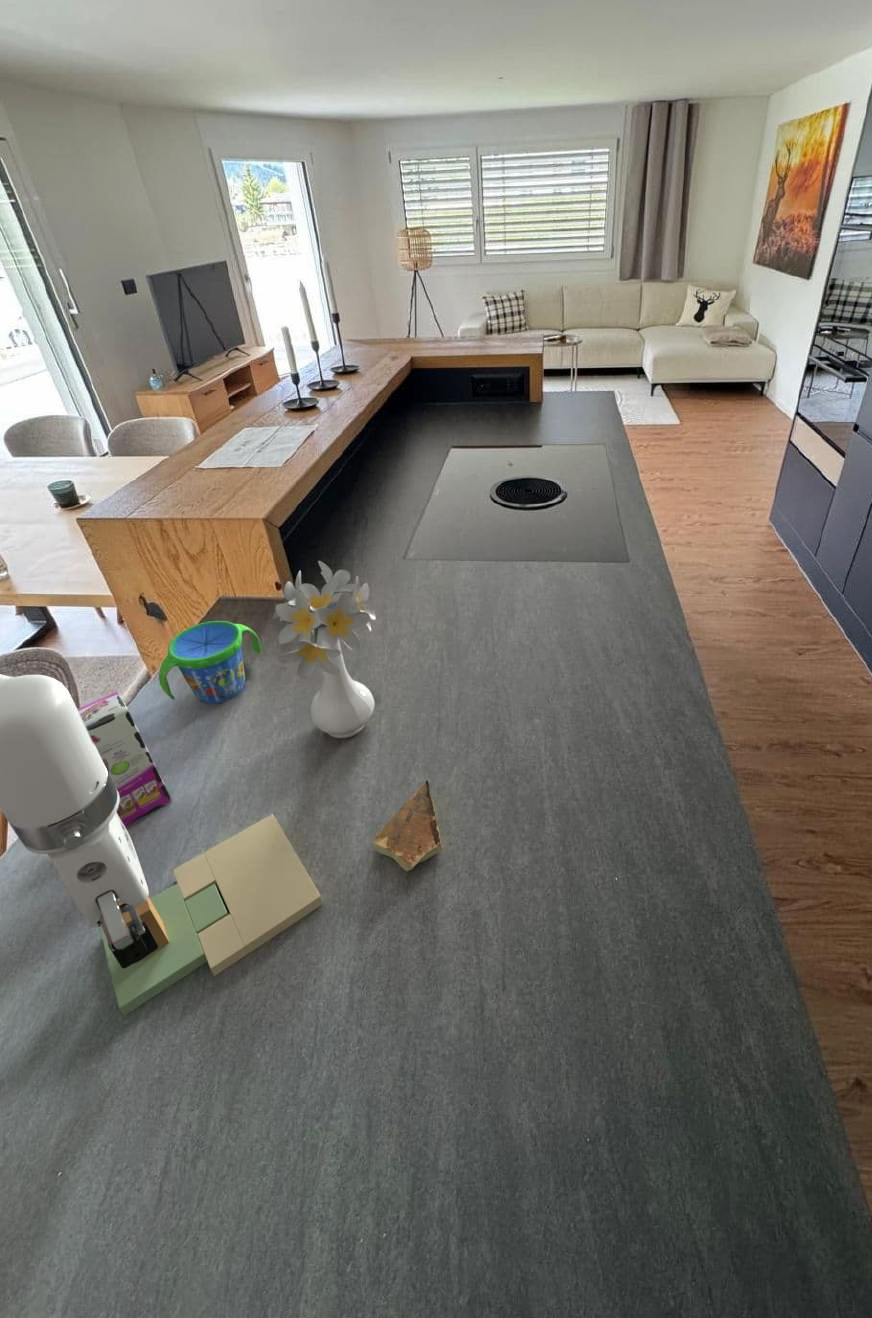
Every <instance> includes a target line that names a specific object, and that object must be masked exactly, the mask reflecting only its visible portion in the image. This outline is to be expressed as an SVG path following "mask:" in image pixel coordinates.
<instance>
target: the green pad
mask: <svg viewBox="0 0 872 1318" xmlns="http://www.w3.org/2000/svg"><path fill="white" fill-rule="evenodd" d="M118 903H119V906H120V905H122V904H124V902H121V901H120V900H119V901H118ZM224 903H225V902H224V900H223V898H222V897H221V893H219V889H218V888H216V885H215V884H213V885H212V886H210V887H208V888H207V889H205V890H203V891H202V892H200V893H198V894H196V895H195V896H193V897H191V898H190V899H188V900H186V901H184V899H183V896H182V894H181V891H180V888H179V886H178V883H175V884H174V885H171V886H170V887H168V888H167V889H165V890H163V891H161V892H160V893H158V894H156V895H154V896H153V897H151V898H150V897H149V896H148V898H147V900H146V902H144V903H142V904H141V905H139V906H137V907H136V910H137V912H138V914H139V917H140V919H141V921H142V922H144V921H146V923H147V925H148V926H149V928H150V930H151V932H152V934H153V936H154V938H155V939H156V941H157V944H158V948H157V949H156V950H155V951H153V952H152V953H150V954H148V955H147V956H146V957H145V958H143V959H142V960H140V961H139V962H137V963H134V964H132V965H130V966H129V967H127V968H122V967H121V966H120V964H119V962H118V961H117V959H116V958H115V956H114V954H113V953H112V951H111V950H110V948H109V946H108V941H107V938H106V936H105V933H104V931H103V929H102V926H101V927H99V932H100V936H101V940H102V945H103V949H104V952H105V956H106V961H107V966H108V969H109V973H110V977H111V981H112V985H113V990H114V993H115V994H114V995H115V997H116V1001H117V1005H118V1009H119V1010H120V1012H121V1013H122V1015H123V1016H126V1015H128V1014H130V1013H131V1012H133V1011H134V1010H136V1009H137V1008H139V1007H140V1006H142V1005H144V1003H146V1002H149V1000H151V999H153V998H154V997H156V996H157V995H158V994H161V993H162V992H163V991H165V990H166V989H168V988H169V987H171V986H172V985H174V984H175V983H177V982H179V981H180V980H182V979H183V978H184V977H187V976H188V975H189V974H191V973H193V972H194V971H196V970H197V969H198V968H201V966H204V965H205V964H206V963H208V962H207V959H206V956H205V954H204V951H203V949H202V946H201V943H200V941H199V938H198V935H197V934H198V933H200V932H202V931H203V930H205V929H206V928H208V927H210V926H211V925H213V924H214V923H216V922H218V921H219V920H221V919H222V918H224V917H226V916H227V915H229V913H228V911H227V908H226V905H225V904H224ZM123 917H124V920H125V922H126V925H127V927H128V926H129V925H131V924H133V921H132V919H131V916H130V914H129V911H127V912H125V913H123Z"/></svg>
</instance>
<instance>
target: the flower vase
mask: <svg viewBox="0 0 872 1318" xmlns="http://www.w3.org/2000/svg"><path fill="white" fill-rule="evenodd" d="M317 563H318V566H319V568H320V569H321V571H320V574H321V575H322V577H323V579H324V580H325V583H326V584H324V585H323V586H322V588H321V590H320V591H319V589H318V588H317V587H316V586H315V585H314V584H311V583H305V582H304V583H302V572H301V570H299V571H298V573H297V575H296V578H295V582H294V583H295V584H293V583H292V582H291V581H287V582H286V583H285V585H284V589H283V595H284V598H285V600H287V602H283V603H277V604H276V605H275V608H274V610H275V612H274V613H273V615H272V619H276V618H279V622H280V623H281V622H282V621H285V622H288V623H289V624H287V625H285V626H284V627H283V628H282V629H281V631H280V632H279V635H278V637H277V640H278V642H279V644H280V645H286V644H289V643H290V642H292V641H293V640H294V639H296V638H297V637H298V641H297V642H296V647H297V649H295V650H292V651H288V652H285V653H282V654H280V655H279V656H278V657H277V660H278V661H280V662H283V663H296V662H299V663H298V666H297V669H296V675H297V676H298V677H299V678H300V679H307V678H309V677H311V675H313V673H314V672H315V671H316V667H317V665H318V668H320V670H321V672H322V684H321V687H320V688H319V690H318V691H316V693H315V694H314V696H313V697H312V700H311V702H310V706H309V716H310V721H311V722H312V724H313V725H314V726H315V728H317V729H318V730H320V731H321V732H323V733H326V734H327V735H328V736H330V737H333V738H336V739H347V738H350V737H354V736H355V735H358V734H359V733H361V731H362V730H363V729H364V728H365V726H366V724H367V723H368V721H369V720H370V718H371V717H372V716H373V713H374V711H375V705H376V704H375V699H374V696H373V693H372V692H371V690H370V689H369V688H368V686H366V685H365V684H363V683H361V682H359V681H358V680H354V679H353V678H352V677H351V675H350V674H349V672H348V669H347V667H346V664H345V660H344V656H343V651H342V647H341V642H342V643H343V645H345V647H347V649H349V650H350V651H353V652H357V651H359V650H360V648H361V642H360V638H359V637H358V635H357V633H356V632H355V631H354V630H353V629H359V628H362V627H364V626H365V627H366V628H367V630H368V631H369V632H372V627H371V623H370V621H371V620H372V621H376V619H377V615H376V613H375V610H374V609H373V608H372V607H371V605H370V604H367V603H365V602H367V600H368V598H369V595H370V587H369V584H368V583H367V582H365V583H363V585H362V586H361V582H360V579H359V576H358V575H356V577H355V582H354V583H349V581H350V580H351V574H350V572H349V571H347V570H346V569H339V570H337V571H336V572H335V573H334V574H333V571H332V570H331V568H330V567H329V566H328V565H327V564H325V563H324V562H323V561H322V560H317ZM294 585H295V586H294ZM350 593H352V595H350ZM335 603H336V604H335ZM334 604H335V606H334V607H335V608H334V610H332V609H331V608H328V607H330V606H332V605H334ZM350 611H351V612H350ZM312 636H313V638H312ZM312 639H313V640H312ZM340 640H341V642H340Z"/></svg>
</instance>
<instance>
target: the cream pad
mask: <svg viewBox="0 0 872 1318" xmlns="http://www.w3.org/2000/svg"><path fill="white" fill-rule="evenodd" d="M172 873H173V875H174V878H175V881H176V884H178V886H179V888H180V891H181V894H182V896H183V899H184V901H186V900H188V899H190V898H191V897H193V896H195V895H196V894H198V893H200V892H202V891H203V890H205V889H207V888H208V887H210V886H212V885H213V884H215V885H216V888H217V889H218V890H219V891H220V895H221V896H222V899H223V901H224V903H225V906H226V907H227V909H228V912H229V913H228V915H227V916H226V917H224V918H222V919H221V920H219V921H218V922H216V923H214V924H213V925H211V926H210V927H208V928H206V929H205V930H203V931H202V932H200V933H198V934H197V935H198V938H199V941H200V943H201V946H202V949H203V951H204V954H205V956H206V959H207V962H206V963H207V964H208V967H209V970H210V971H211V973H212V975H213V977H216V976H217V975H219V974H220V973H222V972H223V971H225V970H226V969H228V968H230V967H231V966H232V965H234V964H236V963H237V962H238V961H239V960H241V959H243V958H244V957H245V956H247V955H249V954H250V953H252V952H253V951H255V950H256V949H258V948H259V947H261V946H262V945H264V944H265V943H267V942H268V941H270V940H271V939H273V938H274V937H276V936H277V935H279V934H281V933H282V932H283V931H285V930H286V929H288V928H289V927H291V926H292V925H294V924H295V923H297V922H298V921H300V920H301V919H303V918H304V917H306V916H308V915H309V914H310V913H312V912H314V911H315V910H316V909H317V908H319V907H321V906H322V905H323V904H324V902H323V898H322V896H321V894H320V892H319V890H318V889H317V887H316V885H315V884H314V883H315V882H313V880H312V878H311V877H310V875H309V873H308V872H307V870H306V867H304V864H303V863H302V862H301V860H300V858H299V856H298V854H297V853H296V851H295V849H294V848H293V845H292V844H291V843H290V841H289V839H288V838H287V836H286V834H285V832H284V831H283V829H282V827H281V826H280V824H279V822H278V821H277V819H276V817H275V815H274V814H273V813H271V814H270V815H268V816H266V817H265V818H262V819H261V820H259V821H258V822H255V823H253V824H252V825H250V826H248V827H246V828H245V829H243V830H241V831H240V832H237V833H236V834H234V835H233V836H231V837H229V838H227V839H225V840H224V841H222V842H220V843H218V844H216V845H215V846H213V847H211V848H209V849H208V850H206V851H204V852H203V853H201V854H199V855H197V856H195V857H193V858H191V859H190V860H188V861H187V862H184V863H183V864H181V865H179V866H177V867H176V868H174V869H173V870H172Z"/></svg>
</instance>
